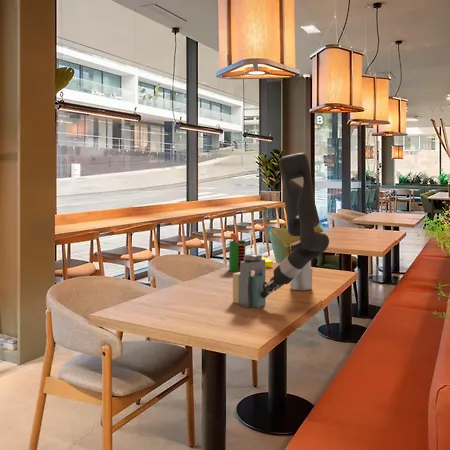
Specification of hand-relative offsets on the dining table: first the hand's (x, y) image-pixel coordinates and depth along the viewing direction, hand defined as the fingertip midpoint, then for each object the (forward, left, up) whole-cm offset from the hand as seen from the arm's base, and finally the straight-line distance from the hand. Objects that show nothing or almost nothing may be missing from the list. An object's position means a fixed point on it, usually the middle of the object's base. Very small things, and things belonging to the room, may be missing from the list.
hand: (262, 296), depth 199 cm
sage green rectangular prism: (+5, -5, -4) cm, 8 cm away
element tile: (-13, -86, -5) cm, 87 cm away
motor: (-1, -76, -4) cm, 76 cm away
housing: (+3, -4, -4) cm, 7 cm away
